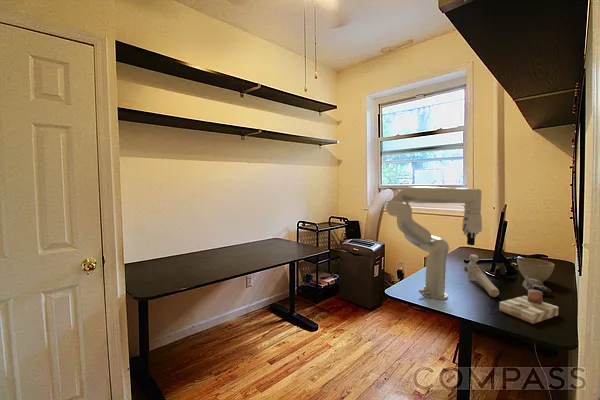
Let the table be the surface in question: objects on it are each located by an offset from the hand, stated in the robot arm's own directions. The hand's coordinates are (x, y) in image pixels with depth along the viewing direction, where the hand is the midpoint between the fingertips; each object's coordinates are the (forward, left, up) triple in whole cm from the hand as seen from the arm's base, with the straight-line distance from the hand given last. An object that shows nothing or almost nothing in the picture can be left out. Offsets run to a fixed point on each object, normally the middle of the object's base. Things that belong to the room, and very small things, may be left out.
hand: (470, 244), depth 154 cm
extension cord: (+80, +21, -28) cm, 87 cm away
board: (+4, -27, -27) cm, 38 cm away
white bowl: (+59, -2, -27) cm, 65 cm away
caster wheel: (+39, -14, -28) cm, 50 cm away
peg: (+9, -27, -27) cm, 39 cm away
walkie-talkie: (+40, +26, -28) cm, 55 cm away
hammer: (+16, +3, -28) cm, 32 cm away
